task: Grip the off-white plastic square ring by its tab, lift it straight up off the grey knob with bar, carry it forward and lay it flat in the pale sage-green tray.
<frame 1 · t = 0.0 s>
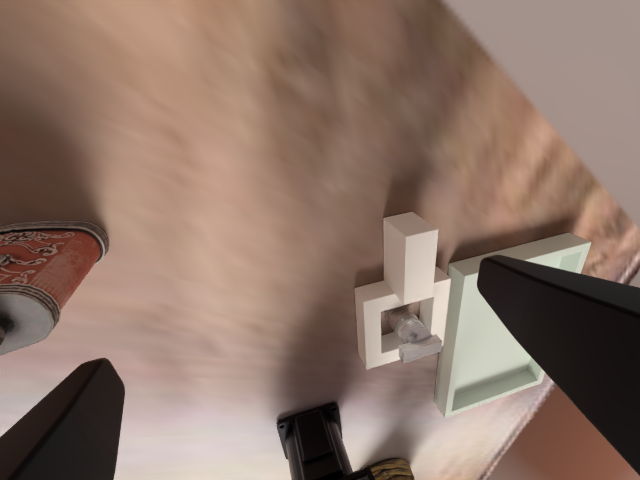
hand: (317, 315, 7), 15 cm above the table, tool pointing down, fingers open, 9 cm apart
lighter: (34, 247, 19), on the table
tray: (494, 325, 34), on the table
wooden mug: (379, 468, 42), on the table
grey knob with bar: (396, 311, 29), on the table
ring: (396, 311, 29), on the table
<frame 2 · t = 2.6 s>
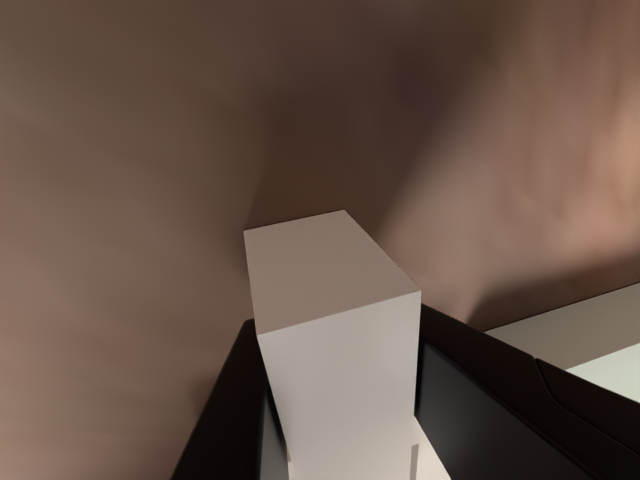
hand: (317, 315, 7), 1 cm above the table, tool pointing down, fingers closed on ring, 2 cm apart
tray: (545, 436, 17), on the table
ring: (331, 450, 12), on the table, touching gripper
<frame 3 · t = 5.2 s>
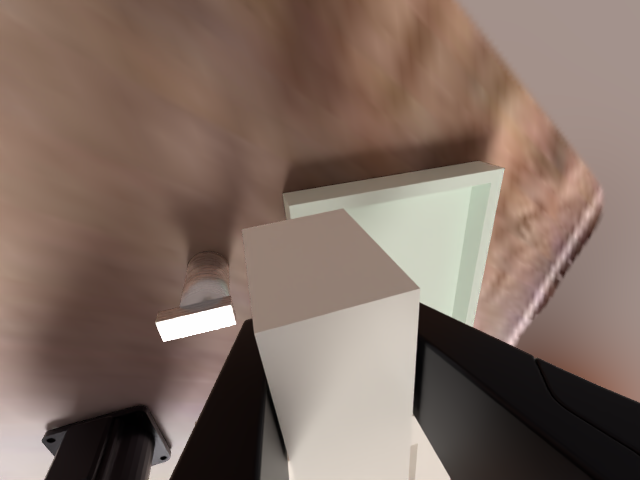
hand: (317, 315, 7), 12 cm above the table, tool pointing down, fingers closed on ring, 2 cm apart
tray: (384, 300, 24), on the table
grey knob with bar: (208, 268, 19), on the table
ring: (330, 449, 12), point 11 cm above the table, touching gripper
when the fingers open (3 cm above the table, at t = 8.2 s): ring drops 1 cm, resting on tray.
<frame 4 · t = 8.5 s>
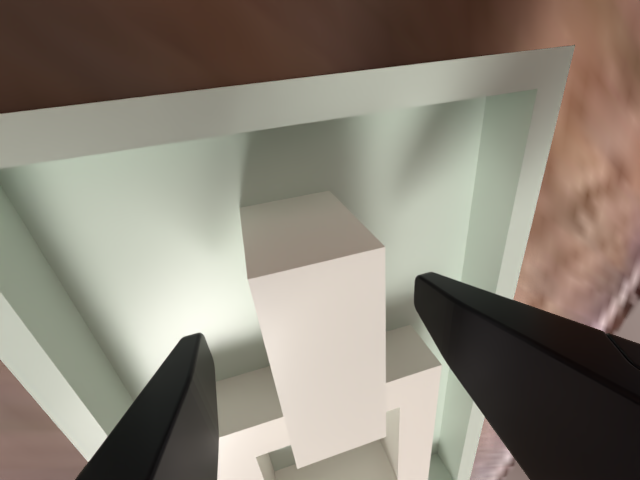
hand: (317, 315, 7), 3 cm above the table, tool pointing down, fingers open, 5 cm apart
tray: (312, 362, 12), on the table
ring: (322, 419, 13), point 1 cm above the table, touching tray
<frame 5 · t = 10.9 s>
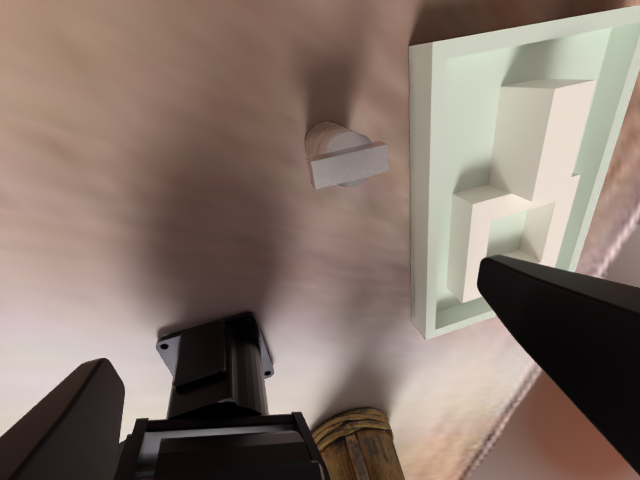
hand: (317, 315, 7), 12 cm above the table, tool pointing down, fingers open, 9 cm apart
tray: (495, 192, 22), on the table
wooden mug: (345, 421, 31), on the table
grey knob with bar: (325, 143, 17), on the table
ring: (496, 230, 23), point 1 cm above the table, touching tray
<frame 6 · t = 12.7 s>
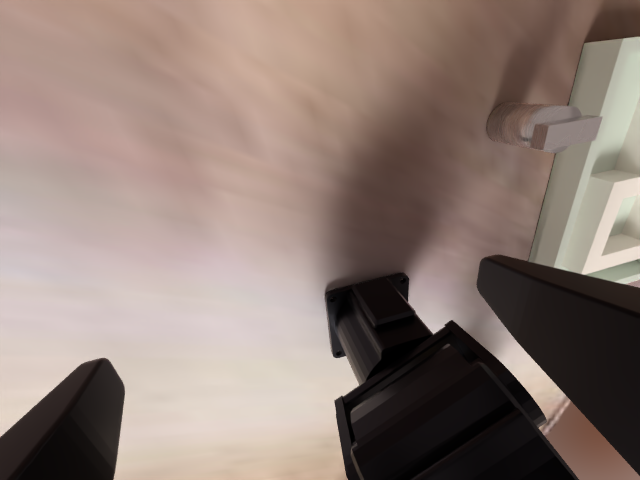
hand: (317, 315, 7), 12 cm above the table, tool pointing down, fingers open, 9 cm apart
tray: (613, 178, 25), on the table
grey knob with bar: (502, 122, 20), on the table
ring: (609, 213, 26), point 1 cm above the table, touching tray
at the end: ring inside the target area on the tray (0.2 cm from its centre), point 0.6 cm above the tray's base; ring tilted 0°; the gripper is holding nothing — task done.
